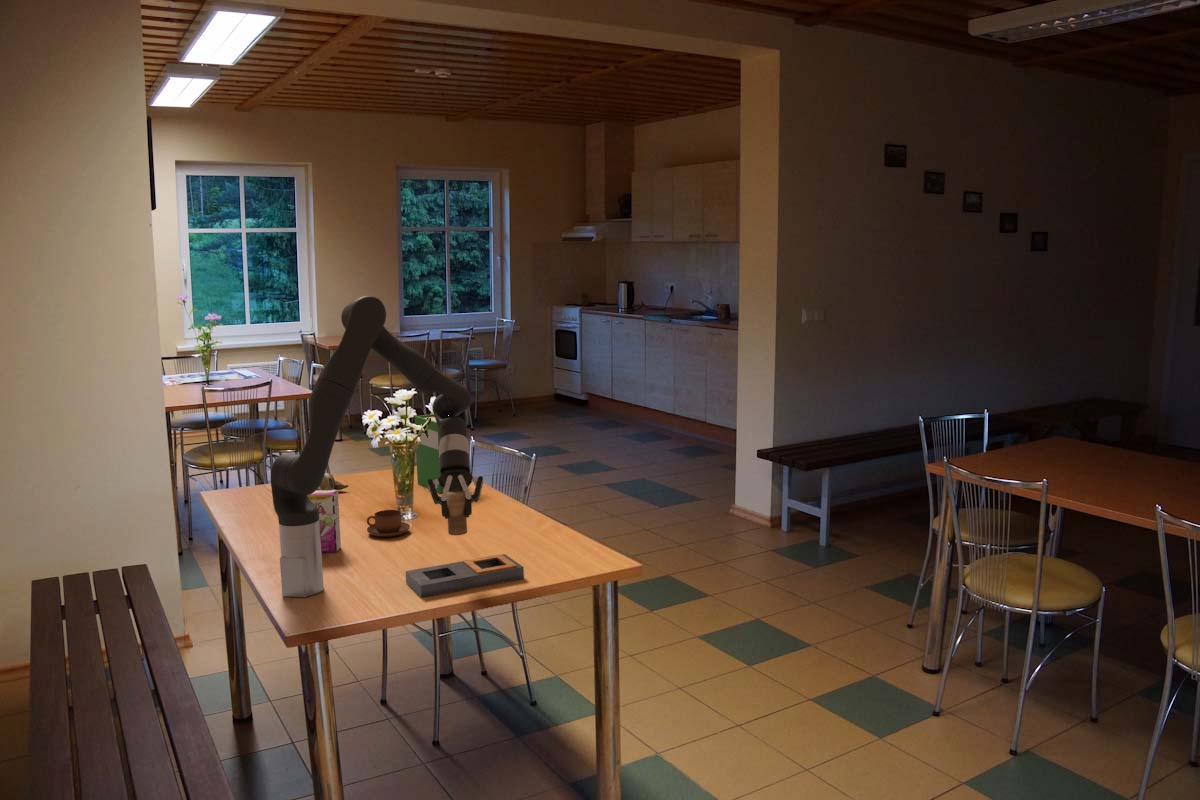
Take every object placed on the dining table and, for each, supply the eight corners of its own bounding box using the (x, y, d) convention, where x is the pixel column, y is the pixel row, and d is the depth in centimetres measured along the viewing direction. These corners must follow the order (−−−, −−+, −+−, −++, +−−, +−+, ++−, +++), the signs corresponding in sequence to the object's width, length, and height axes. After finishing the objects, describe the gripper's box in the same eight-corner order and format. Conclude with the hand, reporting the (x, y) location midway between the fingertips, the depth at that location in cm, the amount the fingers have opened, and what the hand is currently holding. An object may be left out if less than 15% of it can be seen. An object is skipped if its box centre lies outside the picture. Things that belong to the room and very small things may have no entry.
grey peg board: (421, 597, 225) (420, 583, 225) (406, 582, 236) (405, 569, 235) (523, 578, 237) (523, 565, 237) (505, 565, 248) (504, 552, 247)
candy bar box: (295, 554, 260) (291, 494, 258) (300, 548, 265) (296, 490, 263) (337, 553, 261) (333, 493, 258) (341, 547, 266) (338, 489, 263)
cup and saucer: (368, 541, 271) (366, 520, 270) (366, 530, 282) (365, 509, 282) (411, 537, 274) (410, 516, 273) (408, 526, 286) (407, 506, 285)
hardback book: (460, 490, 327) (457, 420, 324) (440, 494, 323) (437, 423, 319) (437, 481, 341) (434, 414, 338) (417, 484, 337) (414, 416, 334)
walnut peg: (463, 535, 232) (461, 495, 230) (445, 535, 233) (443, 494, 231) (469, 530, 236) (467, 490, 235) (452, 529, 237) (449, 489, 236)
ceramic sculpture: (316, 462, 334) (349, 469, 327) (316, 486, 335) (350, 493, 329) (293, 469, 324) (327, 476, 318) (294, 494, 326) (328, 501, 319)
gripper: (424, 449, 238) (425, 510, 228) (483, 446, 240) (486, 506, 230) (426, 466, 244) (427, 526, 234) (483, 462, 246) (487, 522, 236)
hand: (457, 516), depth 232 cm, fingers closed on walnut peg, 4 cm apart
